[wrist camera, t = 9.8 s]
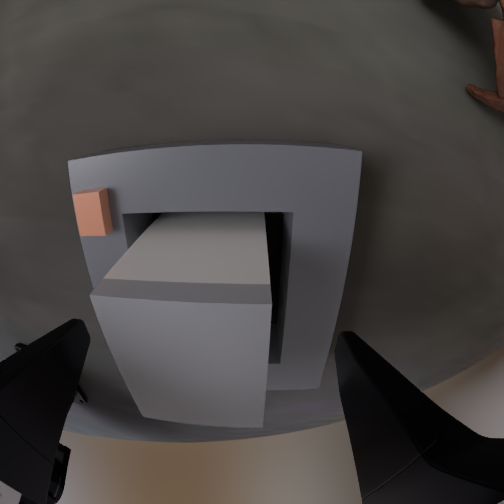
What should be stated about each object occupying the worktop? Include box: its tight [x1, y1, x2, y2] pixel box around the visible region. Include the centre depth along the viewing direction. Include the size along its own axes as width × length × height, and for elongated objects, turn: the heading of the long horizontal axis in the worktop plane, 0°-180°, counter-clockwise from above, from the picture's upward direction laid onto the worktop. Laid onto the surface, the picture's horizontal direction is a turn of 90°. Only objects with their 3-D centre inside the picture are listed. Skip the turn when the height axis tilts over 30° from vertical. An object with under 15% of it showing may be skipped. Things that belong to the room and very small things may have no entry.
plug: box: [90, 211, 272, 428], centre depth 10 cm, size 6×4×7 cm
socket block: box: [68, 140, 362, 390], centre depth 12 cm, size 12×10×4 cm
